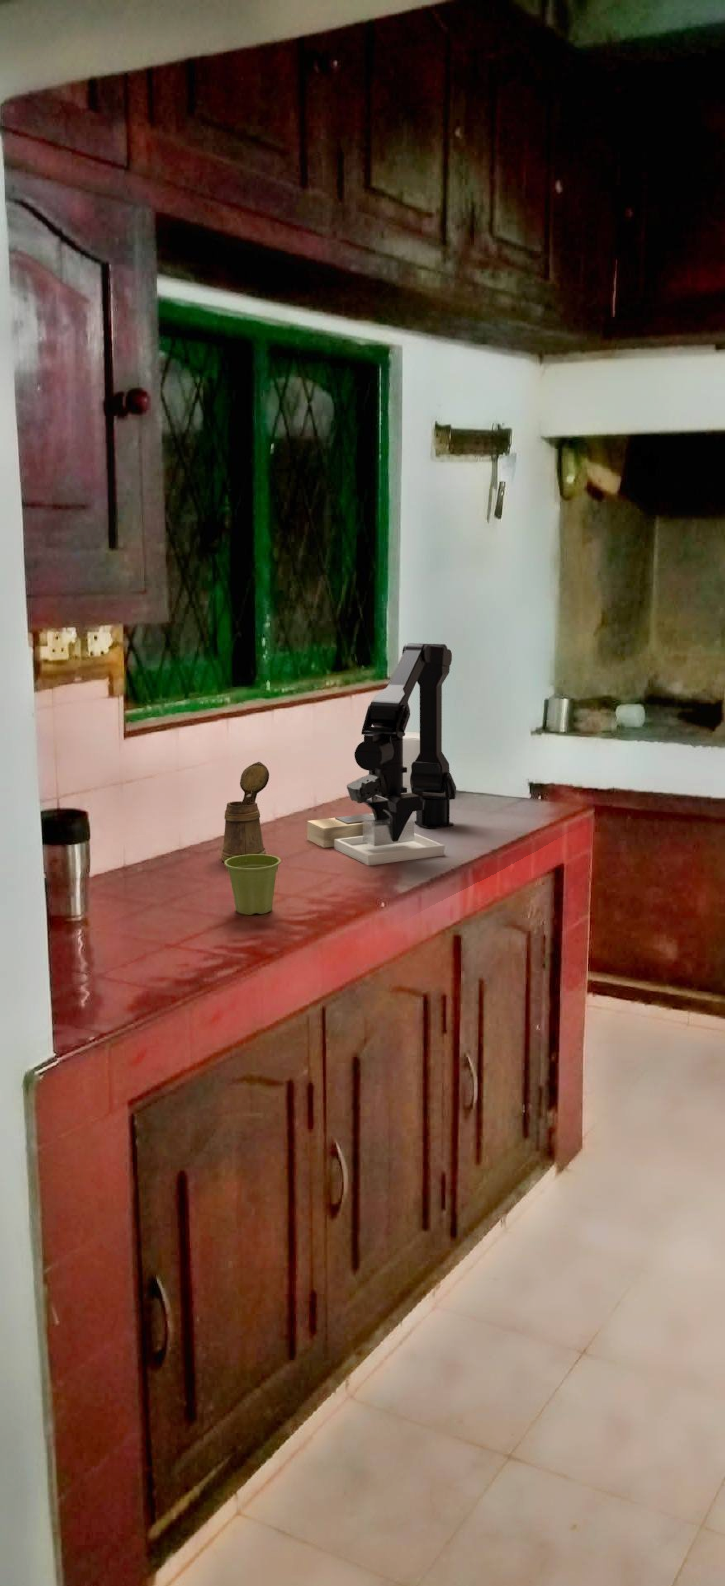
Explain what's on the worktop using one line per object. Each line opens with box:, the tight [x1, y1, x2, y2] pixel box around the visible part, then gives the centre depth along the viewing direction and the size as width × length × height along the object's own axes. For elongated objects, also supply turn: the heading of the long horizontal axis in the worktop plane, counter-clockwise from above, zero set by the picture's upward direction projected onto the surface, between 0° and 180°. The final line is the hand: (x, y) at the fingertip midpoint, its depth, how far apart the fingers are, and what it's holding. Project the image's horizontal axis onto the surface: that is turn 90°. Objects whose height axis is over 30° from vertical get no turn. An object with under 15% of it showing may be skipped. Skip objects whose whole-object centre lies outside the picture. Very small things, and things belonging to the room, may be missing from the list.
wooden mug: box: [221, 761, 270, 863], centre depth 246 cm, size 9×14×18 cm, turn 161°
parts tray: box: [333, 832, 445, 866], centre depth 250 cm, size 17×15×2 cm
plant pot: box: [224, 854, 282, 916], centre depth 210 cm, size 9×9×9 cm
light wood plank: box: [306, 812, 375, 849], centre depth 261 cm, size 20×8×4 cm, turn 117°
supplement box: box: [401, 731, 420, 794], centre depth 304 cm, size 9×9×15 cm
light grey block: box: [363, 818, 415, 846], centre depth 249 cm, size 9×5×4 cm, turn 117°
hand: (388, 838), depth 249 cm, fingers closed on light grey block, 5 cm apart
